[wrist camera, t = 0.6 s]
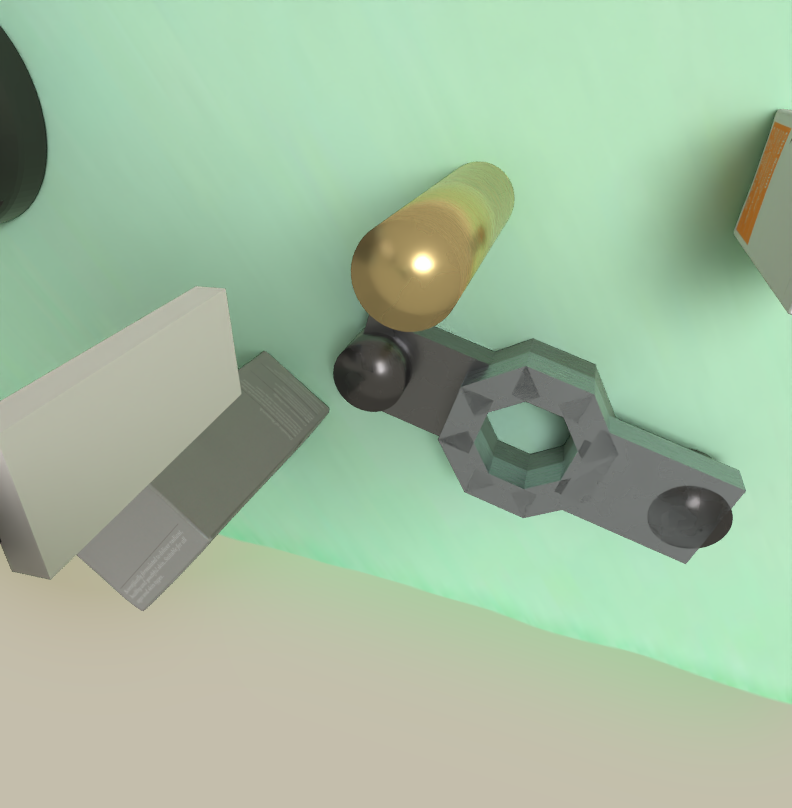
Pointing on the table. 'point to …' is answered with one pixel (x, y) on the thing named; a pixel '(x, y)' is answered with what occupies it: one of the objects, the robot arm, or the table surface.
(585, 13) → the table surface
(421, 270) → the brass pin
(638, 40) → the table surface
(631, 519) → the grey socket base
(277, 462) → the skincare box
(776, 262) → the skincare box
